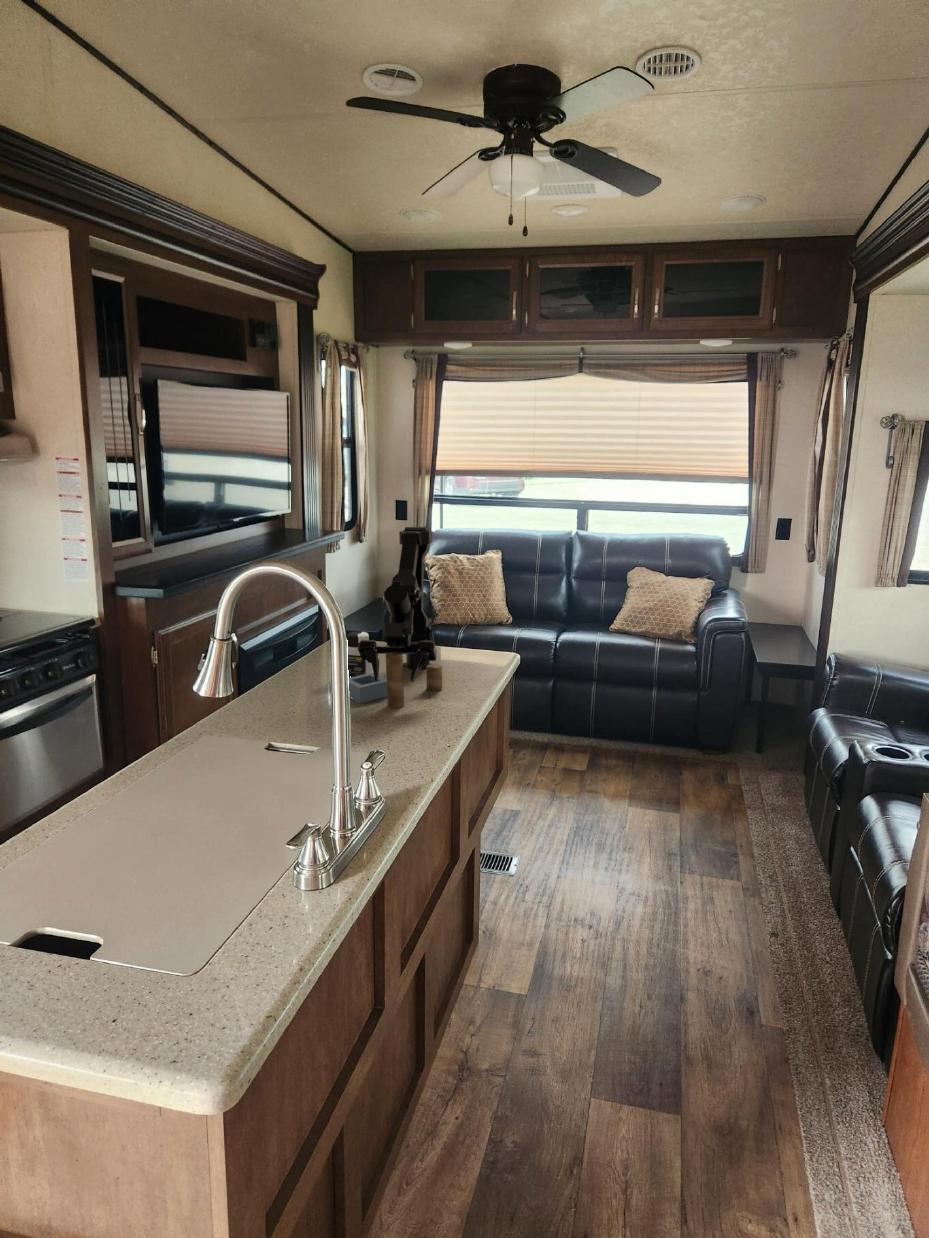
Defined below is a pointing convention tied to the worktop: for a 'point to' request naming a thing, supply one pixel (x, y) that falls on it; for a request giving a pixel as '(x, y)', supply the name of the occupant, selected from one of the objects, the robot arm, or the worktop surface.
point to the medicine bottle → (357, 655)
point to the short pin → (434, 677)
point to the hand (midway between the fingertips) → (393, 681)
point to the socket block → (367, 687)
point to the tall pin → (395, 679)
